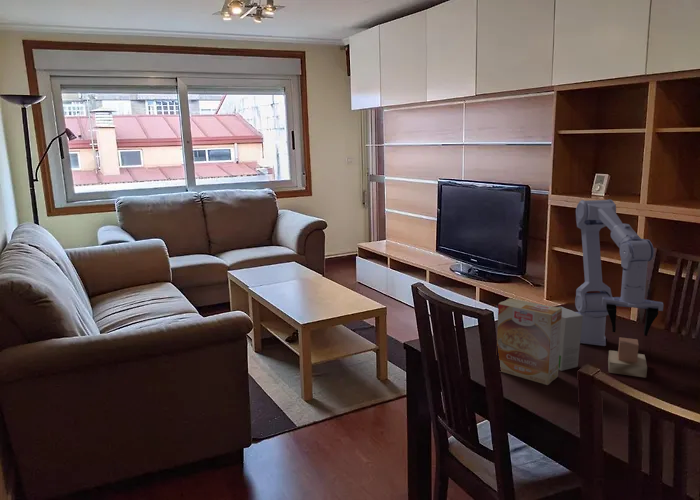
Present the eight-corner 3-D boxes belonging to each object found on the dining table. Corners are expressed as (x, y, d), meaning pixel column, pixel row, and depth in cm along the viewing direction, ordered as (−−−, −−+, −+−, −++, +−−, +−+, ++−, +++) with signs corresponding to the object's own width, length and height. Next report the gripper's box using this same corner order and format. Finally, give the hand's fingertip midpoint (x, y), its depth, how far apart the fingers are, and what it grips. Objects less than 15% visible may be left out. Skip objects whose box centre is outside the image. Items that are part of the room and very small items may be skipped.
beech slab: (608, 372, 148) (609, 362, 147) (608, 360, 156) (608, 350, 155) (646, 377, 144) (647, 367, 144) (643, 364, 152) (644, 354, 152)
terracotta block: (618, 360, 148) (619, 342, 147) (618, 354, 153) (619, 337, 152) (637, 362, 147) (638, 345, 146) (636, 356, 151) (637, 339, 150)
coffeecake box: (495, 370, 151) (497, 303, 147) (507, 362, 156) (509, 297, 152) (547, 386, 141) (551, 314, 137) (558, 376, 146) (562, 307, 142)
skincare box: (540, 360, 157) (542, 309, 154) (558, 356, 159) (560, 305, 156) (562, 371, 149) (565, 317, 146) (580, 367, 152) (583, 313, 149)
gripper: (603, 286, 145) (600, 334, 147) (666, 291, 139) (661, 341, 142) (603, 279, 151) (600, 326, 154) (663, 284, 145) (658, 332, 148)
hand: (629, 332), depth 148 cm, fingers open, 7 cm apart
